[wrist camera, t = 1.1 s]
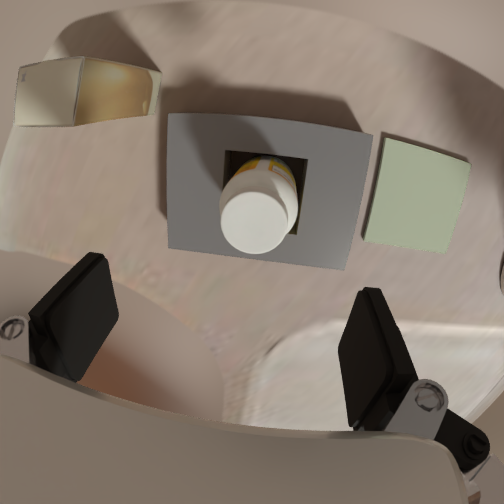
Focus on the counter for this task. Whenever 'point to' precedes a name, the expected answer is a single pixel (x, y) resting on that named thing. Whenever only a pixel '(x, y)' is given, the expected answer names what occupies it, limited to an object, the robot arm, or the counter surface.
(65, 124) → the skincare box
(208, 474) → the robot arm
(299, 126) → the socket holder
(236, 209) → the supplement bottle
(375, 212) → the rubber mat
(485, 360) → the counter surface
